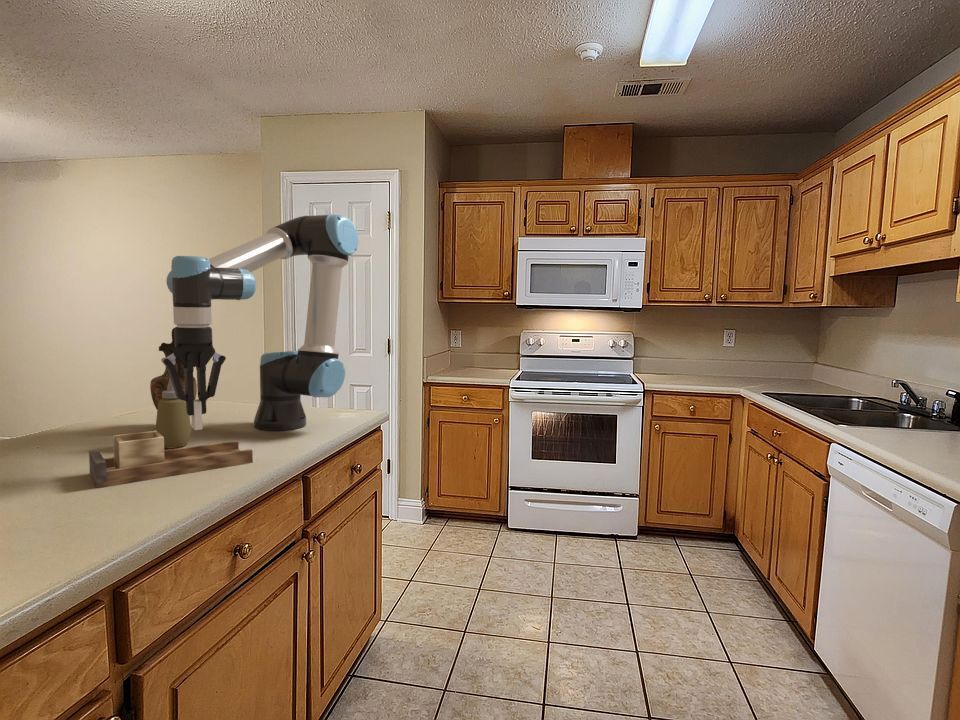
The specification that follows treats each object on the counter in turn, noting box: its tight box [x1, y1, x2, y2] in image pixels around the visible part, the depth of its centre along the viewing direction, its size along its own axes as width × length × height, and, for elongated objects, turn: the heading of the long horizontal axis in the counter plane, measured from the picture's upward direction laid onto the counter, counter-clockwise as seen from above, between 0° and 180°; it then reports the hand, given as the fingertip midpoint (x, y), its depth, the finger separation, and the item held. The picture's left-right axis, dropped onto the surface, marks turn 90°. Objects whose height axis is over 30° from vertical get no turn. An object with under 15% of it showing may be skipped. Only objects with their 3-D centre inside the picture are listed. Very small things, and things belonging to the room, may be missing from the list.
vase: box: [149, 327, 198, 410], centre depth 152 cm, size 12×12×30 cm
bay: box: [88, 440, 254, 489], centre depth 117 cm, size 30×11×5 cm, turn 133°
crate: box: [112, 430, 165, 469], centre depth 113 cm, size 8×7×7 cm
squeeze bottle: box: [154, 379, 192, 449], centre depth 134 cm, size 8×8×18 cm
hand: (197, 428), depth 120 cm, fingers closed
